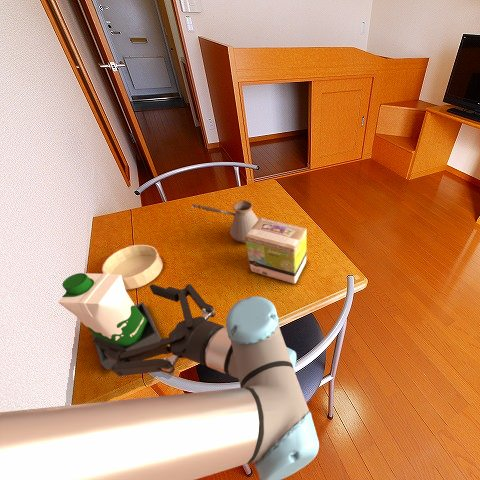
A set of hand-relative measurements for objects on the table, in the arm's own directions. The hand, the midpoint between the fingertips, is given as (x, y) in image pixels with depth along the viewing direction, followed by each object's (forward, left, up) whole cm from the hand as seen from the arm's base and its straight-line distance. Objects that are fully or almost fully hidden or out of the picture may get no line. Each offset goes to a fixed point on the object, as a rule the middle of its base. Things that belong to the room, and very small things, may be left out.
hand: (127, 313), depth 57 cm
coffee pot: (+34, +24, -13) cm, 44 cm away
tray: (-3, +6, -13) cm, 15 cm away
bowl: (+4, +28, -13) cm, 31 cm away
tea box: (+38, +2, -13) cm, 41 cm away
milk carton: (-3, +6, -13) cm, 14 cm away
